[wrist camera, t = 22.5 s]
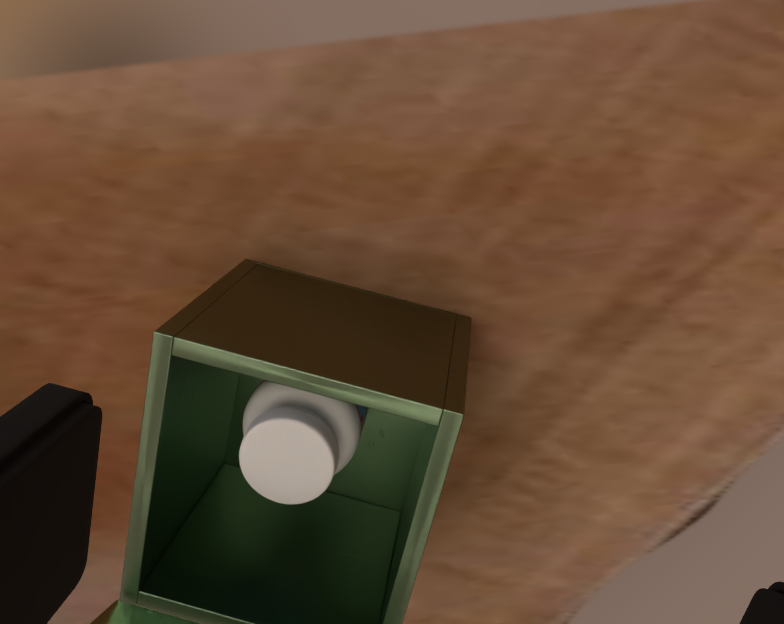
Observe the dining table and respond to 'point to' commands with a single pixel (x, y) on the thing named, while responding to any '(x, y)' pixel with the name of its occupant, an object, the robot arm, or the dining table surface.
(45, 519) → the robot arm
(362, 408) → the pill bottle
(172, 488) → the waste bin
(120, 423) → the dining table surface
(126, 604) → the bin lid
